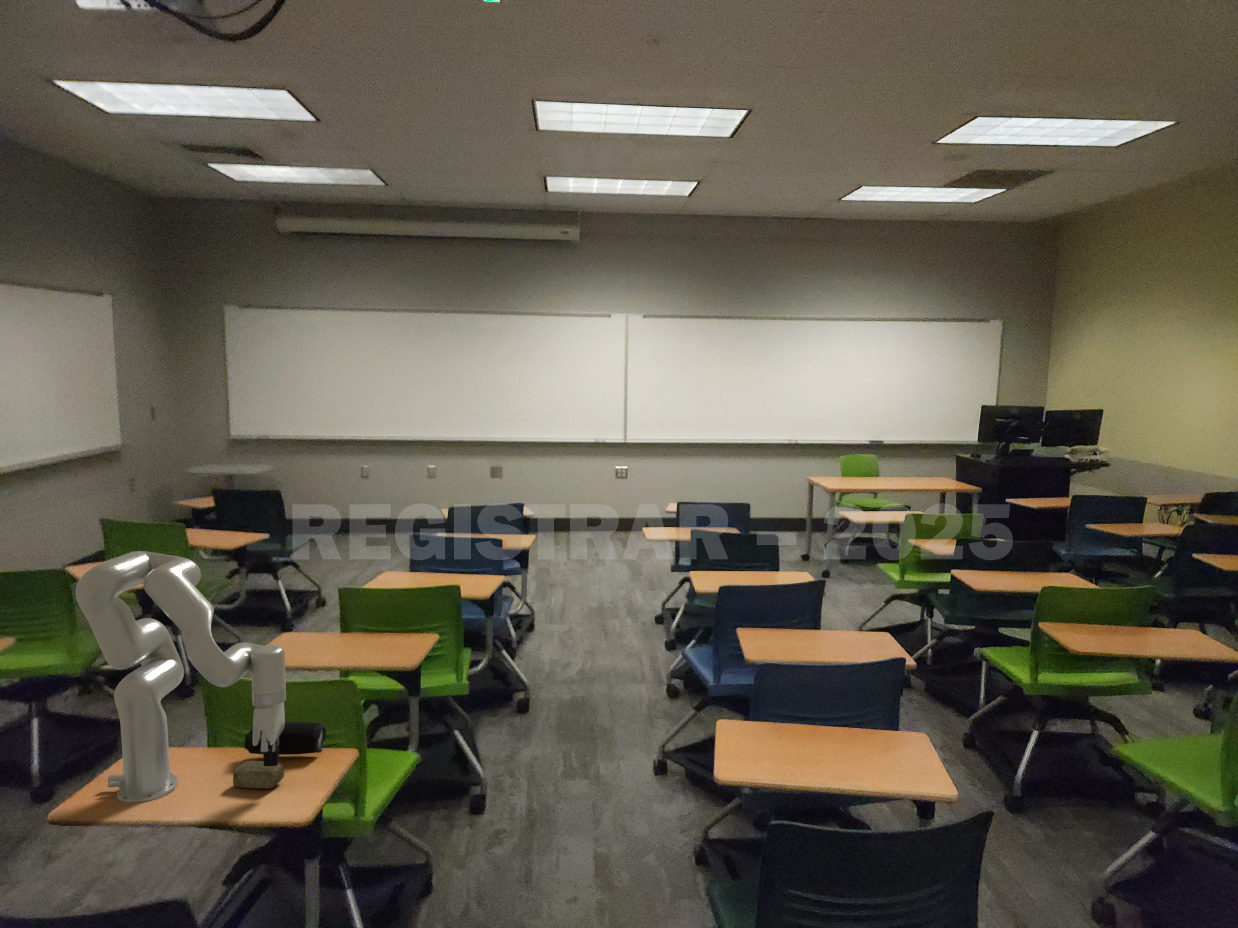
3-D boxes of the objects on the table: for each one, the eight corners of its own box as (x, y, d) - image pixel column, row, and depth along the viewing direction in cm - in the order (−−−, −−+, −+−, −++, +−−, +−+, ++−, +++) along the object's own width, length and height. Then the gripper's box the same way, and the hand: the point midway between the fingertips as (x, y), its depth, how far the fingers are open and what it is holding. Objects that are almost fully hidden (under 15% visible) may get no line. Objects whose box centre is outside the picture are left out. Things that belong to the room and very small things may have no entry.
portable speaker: (243, 730, 189) (318, 729, 192) (256, 716, 198) (327, 716, 201) (242, 761, 189) (317, 760, 192) (255, 745, 199) (326, 744, 201)
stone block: (273, 790, 176) (270, 772, 175) (231, 789, 178) (229, 771, 177) (286, 777, 182) (284, 759, 181) (246, 776, 183) (243, 758, 183)
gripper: (263, 683, 181) (266, 749, 183) (241, 709, 166) (244, 781, 168) (294, 682, 182) (296, 748, 184) (275, 708, 167) (277, 779, 169)
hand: (271, 764), depth 176 cm, fingers closed
